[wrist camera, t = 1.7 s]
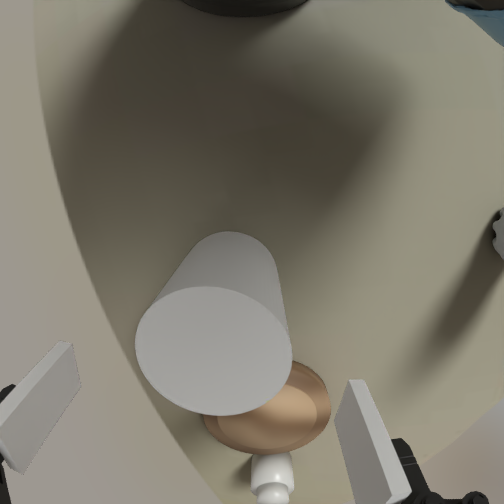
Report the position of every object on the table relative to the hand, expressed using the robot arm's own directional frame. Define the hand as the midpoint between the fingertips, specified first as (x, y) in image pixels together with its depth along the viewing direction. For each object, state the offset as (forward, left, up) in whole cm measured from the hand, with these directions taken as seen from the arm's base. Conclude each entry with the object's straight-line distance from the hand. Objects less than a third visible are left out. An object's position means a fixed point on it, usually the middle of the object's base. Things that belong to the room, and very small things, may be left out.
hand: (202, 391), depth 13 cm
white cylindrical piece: (0, 0, -14) cm, 14 cm away
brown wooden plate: (+14, +5, -14) cm, 20 cm away
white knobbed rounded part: (+24, +7, -14) cm, 29 cm away
